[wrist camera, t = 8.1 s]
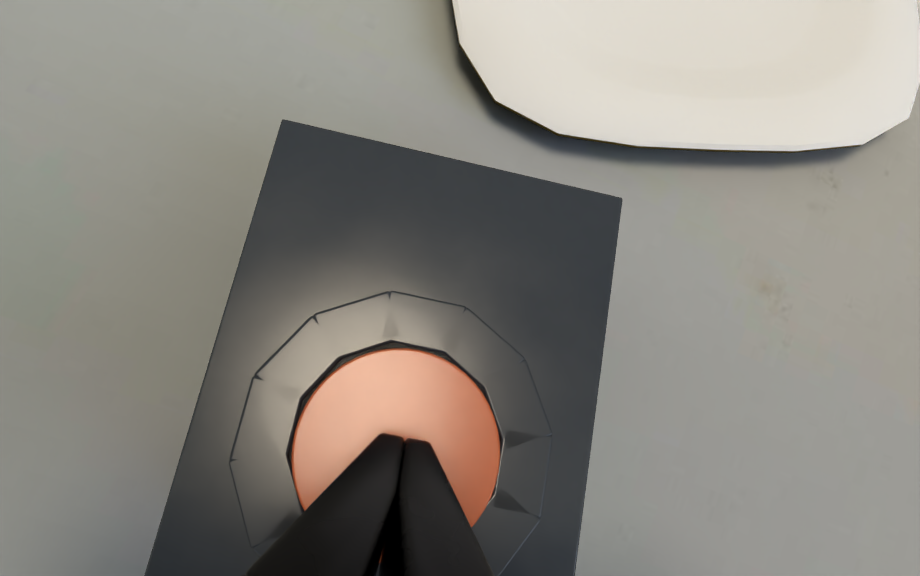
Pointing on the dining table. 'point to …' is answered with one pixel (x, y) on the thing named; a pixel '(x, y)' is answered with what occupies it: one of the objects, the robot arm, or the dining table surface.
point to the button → (399, 423)
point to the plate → (699, 69)
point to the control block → (400, 338)
